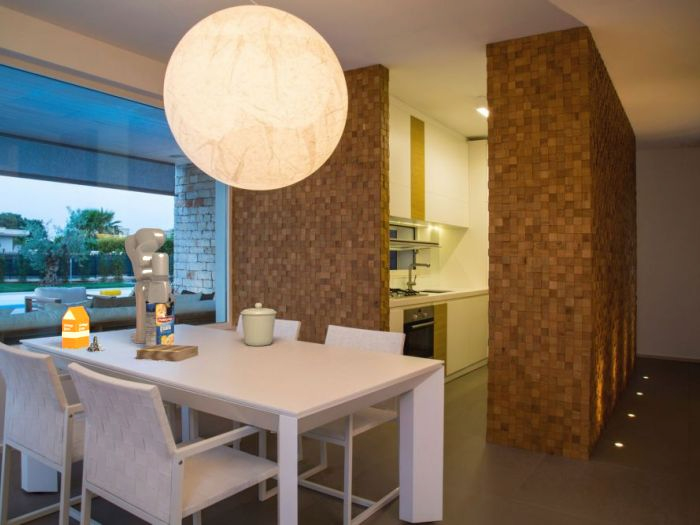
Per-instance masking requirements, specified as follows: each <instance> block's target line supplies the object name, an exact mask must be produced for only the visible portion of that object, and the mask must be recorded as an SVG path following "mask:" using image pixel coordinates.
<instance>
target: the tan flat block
mask: <svg viewBox="0 0 700 525" xmlns="http://www.w3.org/2000/svg"><path fill="white" fill-rule="evenodd" d="M196 356H199V346H198V345H197V346H196V345H183V344H182V345H179V344H174V345H164V344H158V345H154V346H150V347H146V346H145V347H143V348H137V349H136V360H142V359H152V360H151V361H159V360H165V361H164V362H175V361H178V362H181V361H184V360H187V358H188V359H190V358H194V357H196Z"/></svg>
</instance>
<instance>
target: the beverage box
mask: <svg viewBox="0 0 700 525" xmlns="http://www.w3.org/2000/svg"><path fill="white" fill-rule="evenodd" d="M167 307H168V306H167V305H166V303H149V304H146V343H145V348H146V347H150V346H154V345H158V344H164V345H175V304H174V305H173V307H172V315H170V316H167Z"/></svg>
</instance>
